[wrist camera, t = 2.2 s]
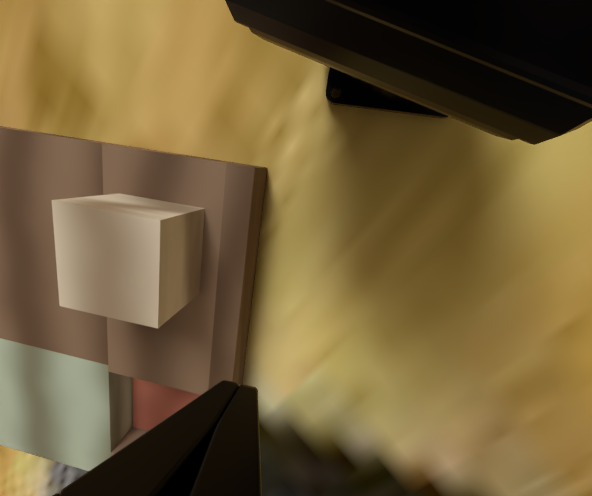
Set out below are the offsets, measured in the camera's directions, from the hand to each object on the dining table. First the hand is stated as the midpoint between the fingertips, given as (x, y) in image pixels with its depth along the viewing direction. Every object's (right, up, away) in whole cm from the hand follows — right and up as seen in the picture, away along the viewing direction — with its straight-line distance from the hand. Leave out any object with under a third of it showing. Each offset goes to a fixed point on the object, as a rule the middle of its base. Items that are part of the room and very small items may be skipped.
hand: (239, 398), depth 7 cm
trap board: (-15, -1, +15) cm, 22 cm away
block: (-6, +4, +10) cm, 12 cm away
